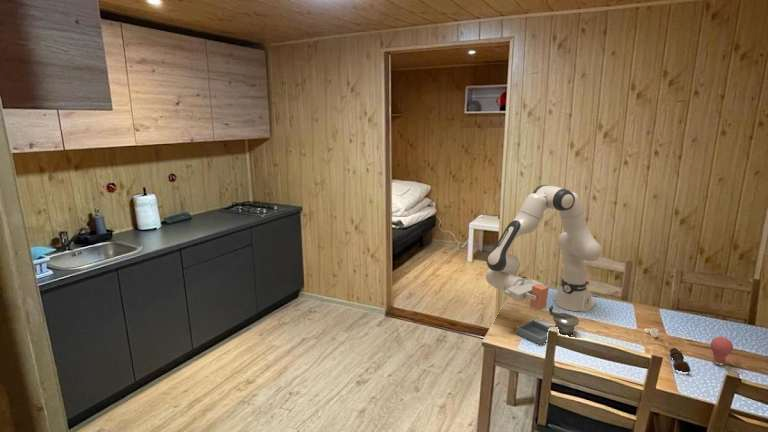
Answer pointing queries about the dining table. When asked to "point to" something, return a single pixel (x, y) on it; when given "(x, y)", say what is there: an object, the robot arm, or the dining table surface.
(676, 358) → the brown shoe
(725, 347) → the light bulb
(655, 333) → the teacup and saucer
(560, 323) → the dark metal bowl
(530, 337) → the tray
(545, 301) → the block
